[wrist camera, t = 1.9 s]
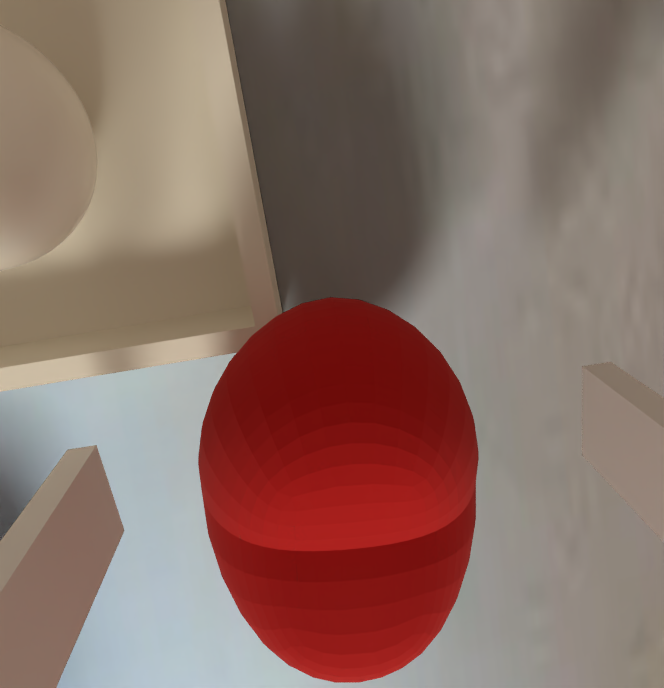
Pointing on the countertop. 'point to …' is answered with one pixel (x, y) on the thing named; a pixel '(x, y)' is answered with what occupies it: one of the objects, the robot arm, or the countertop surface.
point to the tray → (144, 198)
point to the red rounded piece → (340, 487)
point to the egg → (40, 154)
